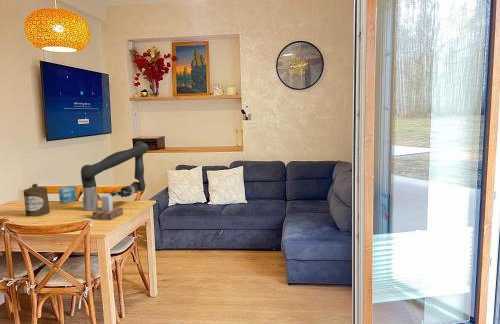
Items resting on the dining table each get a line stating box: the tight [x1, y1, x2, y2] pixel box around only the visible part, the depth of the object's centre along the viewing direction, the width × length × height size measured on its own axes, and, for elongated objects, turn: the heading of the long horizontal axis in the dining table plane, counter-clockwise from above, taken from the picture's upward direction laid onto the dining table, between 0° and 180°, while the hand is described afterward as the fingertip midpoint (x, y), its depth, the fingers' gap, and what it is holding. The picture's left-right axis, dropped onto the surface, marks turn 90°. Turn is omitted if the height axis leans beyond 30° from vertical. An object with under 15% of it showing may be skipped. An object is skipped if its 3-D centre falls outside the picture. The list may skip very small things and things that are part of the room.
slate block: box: [100, 194, 114, 211], centre depth 253 cm, size 5×5×10 cm
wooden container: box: [22, 183, 50, 217], centre depth 264 cm, size 15×15×22 cm
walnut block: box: [91, 207, 124, 221], centre depth 254 cm, size 14×14×5 cm
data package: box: [58, 185, 77, 204], centre depth 301 cm, size 12×4×12 cm, turn 155°
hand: (115, 195), depth 264 cm, fingers open, 8 cm apart
